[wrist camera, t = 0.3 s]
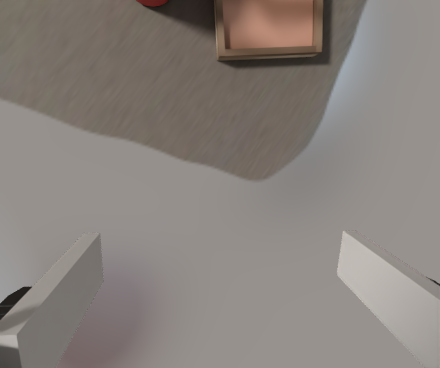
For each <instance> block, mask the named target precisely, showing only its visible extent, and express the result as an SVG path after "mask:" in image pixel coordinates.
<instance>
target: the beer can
mask: <svg viewBox="0 0 440 368" xmlns="http://www.w3.org/2000/svg"><path fill="white" fill-rule="evenodd" d="M136 1H137V2H139V3H141V4H143V5H145V6H152V7H155V6H159V5H162V4H164V3H165V2H167V1H168V0H136Z"/></svg>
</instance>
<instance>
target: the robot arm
mask: <svg viewBox="0 0 440 368" xmlns="http://www.w3.org/2000/svg"><path fill="white" fill-rule="evenodd" d="M100 240H101V239H100V233H84V234H83V235H82V236H81V237H80V238H79V239H78V240H77V241H76V242H75V243H74V244H73V245H72V246H71V247H70V248H69V249H68V250H67V251H66V253H65V254H64V255H63V256H62V257H61V258H60V259H59V260H58V261H57V262H56V263H55V264H54V265H53V266H52V267H51V268H50V269H49V270H48V271H47V272H46V273H45V275H44V276H42V277H41V278H40V280H39V281H38V282H37V283H36V284H35V285H34V286H33V287H22V288H21V289H19V290H17V291H16V292H14V293H12V294H11V295H9V296H8V297H7V298H6V299H4V301H2V302H1V303H0V368H56V366H57V364H58V362H59V361H60V359H61V357H62V355H63V354H64V352H65V350H66V348H67V346H68V345H69V343H70V341H71V339H72V337H73V335H74V334H75V332H76V330H77V328H78V326H79V325H80V323H81V321H82V319H83V317H84V316H85V314H86V312H87V310H88V308H89V306H90V304H91V303H92V301H93V299H94V297H95V296H96V294H97V292H98V290H99V288H100V287H101V285H102V283H103V267H102V254H101V241H100ZM337 275H338V276H339V277H340V279H342V281H343V282H344V283H345V284H346V285H347V286H348V287H349V288H350V289H351V290H352V291H353V292H354V293H355V294H356V295H357V296H358V298H359V299H360V300H361V301H363V303H364V304H365V305H366V306H367V307H368V308H369V309H370V310H371V311H372V312H373V313H374V314H375V316H376V317H377V318H378V319H379V320H380V321H381V322H382V323H383V324H384V325H385V326H386V327H387V328H388V329H389V330H390V331H391V332H392V334H393V335H394V336H395V337H396V338H397V339H398V340H399V341H400V342H401V343H402V344H403V345H404V346H405V347H406V348H407V349H408V350H409V351H410V352H411V354H412V355H413V356H414V357H415V358H416V359H417V360H418V361H419V362H420V363H421V364H422V365H423V366H424V367H425V368H440V284H439V283H437V282H436V281H434V280H431V279H429V278H427V277H425V276H423V275H422V274H420V273H419V272H418V271H416V270H415V269H413V268H412V267H410V266H409V265H407V264H406V263H404V262H403V261H401V260H400V259H398V258H397V257H395V256H393V255H392V254H390V253H389V252H387V251H386V250H385V249H383V248H382V247H380V246H379V245H377V244H376V243H374V242H373V241H371V240H370V239H368V238H367V237H365V236H364V235H362V234H361V233H359V232H358V231H356V230H355V231H354V230H352V231H343V236H342V242H341V249H340V256H339V262H338V269H337Z"/></svg>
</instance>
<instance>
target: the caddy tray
mask: <svg viewBox="0 0 440 368" xmlns="http://www.w3.org/2000/svg"><path fill="white" fill-rule="evenodd" d="M214 12H215V30H216V47H217V61H225V60H249V59H273V58H296V57H314V56H315V55H317V54H319V53H321V52H322V28H323V0H214Z"/></svg>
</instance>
